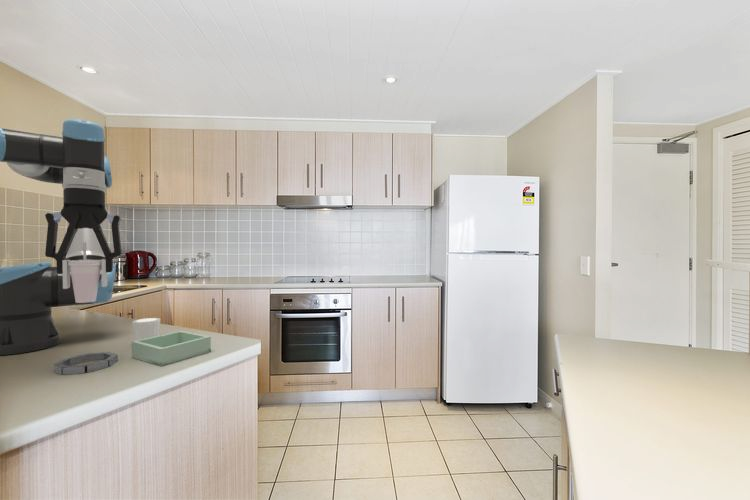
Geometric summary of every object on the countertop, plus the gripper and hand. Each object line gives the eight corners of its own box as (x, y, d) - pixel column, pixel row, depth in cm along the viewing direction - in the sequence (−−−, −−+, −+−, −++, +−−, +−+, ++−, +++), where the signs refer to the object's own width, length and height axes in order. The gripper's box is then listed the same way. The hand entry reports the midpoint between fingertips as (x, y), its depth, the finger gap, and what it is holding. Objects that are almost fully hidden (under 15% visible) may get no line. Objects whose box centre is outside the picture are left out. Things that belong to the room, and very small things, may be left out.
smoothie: (97, 298, 87) (97, 242, 87) (107, 301, 83) (107, 242, 83) (64, 301, 82) (63, 242, 82) (72, 304, 78) (72, 242, 78)
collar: (47, 368, 81) (47, 362, 81) (102, 355, 90) (102, 349, 90) (67, 377, 75) (67, 370, 75) (124, 362, 85) (124, 356, 85)
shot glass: (150, 347, 97) (150, 322, 97) (126, 347, 98) (126, 322, 97) (166, 340, 104) (165, 317, 104) (143, 340, 104) (143, 317, 104)
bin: (131, 357, 89) (131, 341, 89) (181, 344, 100) (181, 330, 100) (160, 366, 82) (160, 349, 82) (210, 351, 94) (210, 336, 94)
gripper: (22, 182, 74) (24, 291, 74) (133, 190, 84) (134, 286, 84) (34, 187, 80) (36, 287, 81) (135, 193, 90) (136, 283, 91)
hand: (85, 286), depth 82 cm, fingers closed on smoothie, 6 cm apart
